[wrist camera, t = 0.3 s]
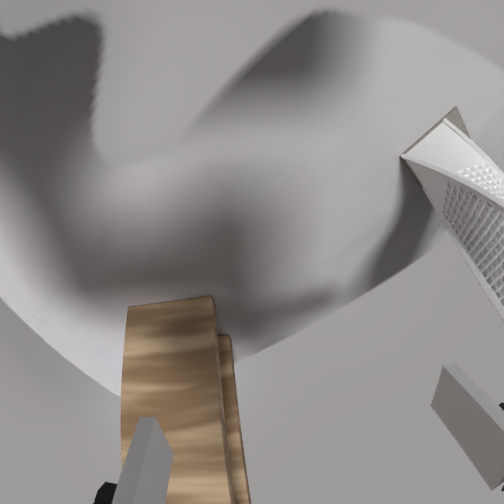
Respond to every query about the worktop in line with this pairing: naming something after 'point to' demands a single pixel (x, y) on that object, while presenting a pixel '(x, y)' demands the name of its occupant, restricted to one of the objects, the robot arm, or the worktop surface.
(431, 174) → the skyscraper
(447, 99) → the worktop surface
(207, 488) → the bridge
